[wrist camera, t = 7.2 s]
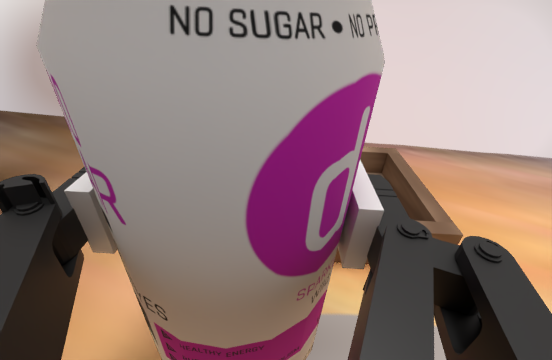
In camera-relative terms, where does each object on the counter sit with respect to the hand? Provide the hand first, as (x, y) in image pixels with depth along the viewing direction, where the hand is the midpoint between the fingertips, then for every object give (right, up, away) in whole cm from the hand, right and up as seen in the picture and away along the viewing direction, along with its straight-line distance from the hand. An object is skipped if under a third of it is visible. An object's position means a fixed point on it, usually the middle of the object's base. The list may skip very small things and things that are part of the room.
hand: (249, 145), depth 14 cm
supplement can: (-1, -9, +1) cm, 10 cm away
